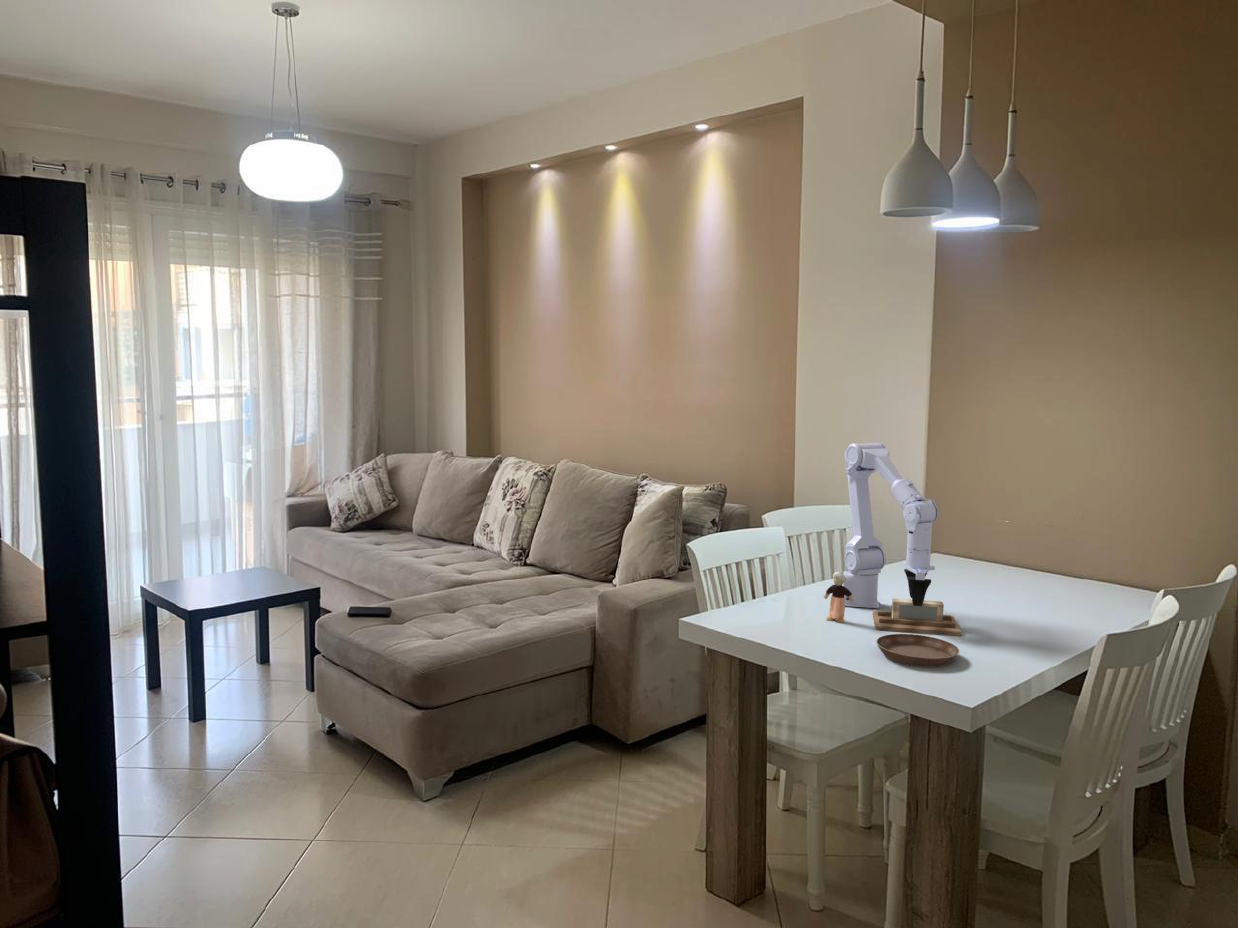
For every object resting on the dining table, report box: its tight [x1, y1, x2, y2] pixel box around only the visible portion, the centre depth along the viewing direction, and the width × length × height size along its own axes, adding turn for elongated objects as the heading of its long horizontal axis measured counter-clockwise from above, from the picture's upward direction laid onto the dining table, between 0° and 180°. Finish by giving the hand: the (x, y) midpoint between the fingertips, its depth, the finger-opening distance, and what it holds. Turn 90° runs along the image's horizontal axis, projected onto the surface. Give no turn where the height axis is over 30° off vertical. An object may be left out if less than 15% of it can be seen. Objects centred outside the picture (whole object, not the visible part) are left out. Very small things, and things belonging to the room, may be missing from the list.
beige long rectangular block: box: [891, 598, 944, 622], centre depth 228 cm, size 12×3×5 cm, turn 77°
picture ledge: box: [872, 610, 962, 637], centre depth 229 cm, size 20×14×2 cm
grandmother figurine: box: [823, 571, 854, 623], centre depth 231 cm, size 8×4×13 cm, turn 68°
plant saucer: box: [875, 633, 960, 668], centre depth 204 cm, size 18×18×3 cm
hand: (916, 601), depth 228 cm, fingers open, 7 cm apart
